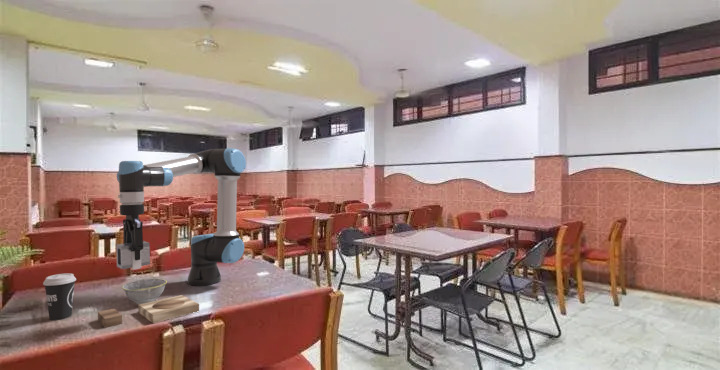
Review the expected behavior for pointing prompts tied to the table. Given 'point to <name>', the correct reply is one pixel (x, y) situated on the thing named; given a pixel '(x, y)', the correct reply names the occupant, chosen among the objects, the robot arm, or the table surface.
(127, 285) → the bowl
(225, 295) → the table surface
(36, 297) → the table surface
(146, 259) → the housing
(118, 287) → the table surface
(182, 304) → the plate
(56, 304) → the coffee cup
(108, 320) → the stand
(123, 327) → the table surface
